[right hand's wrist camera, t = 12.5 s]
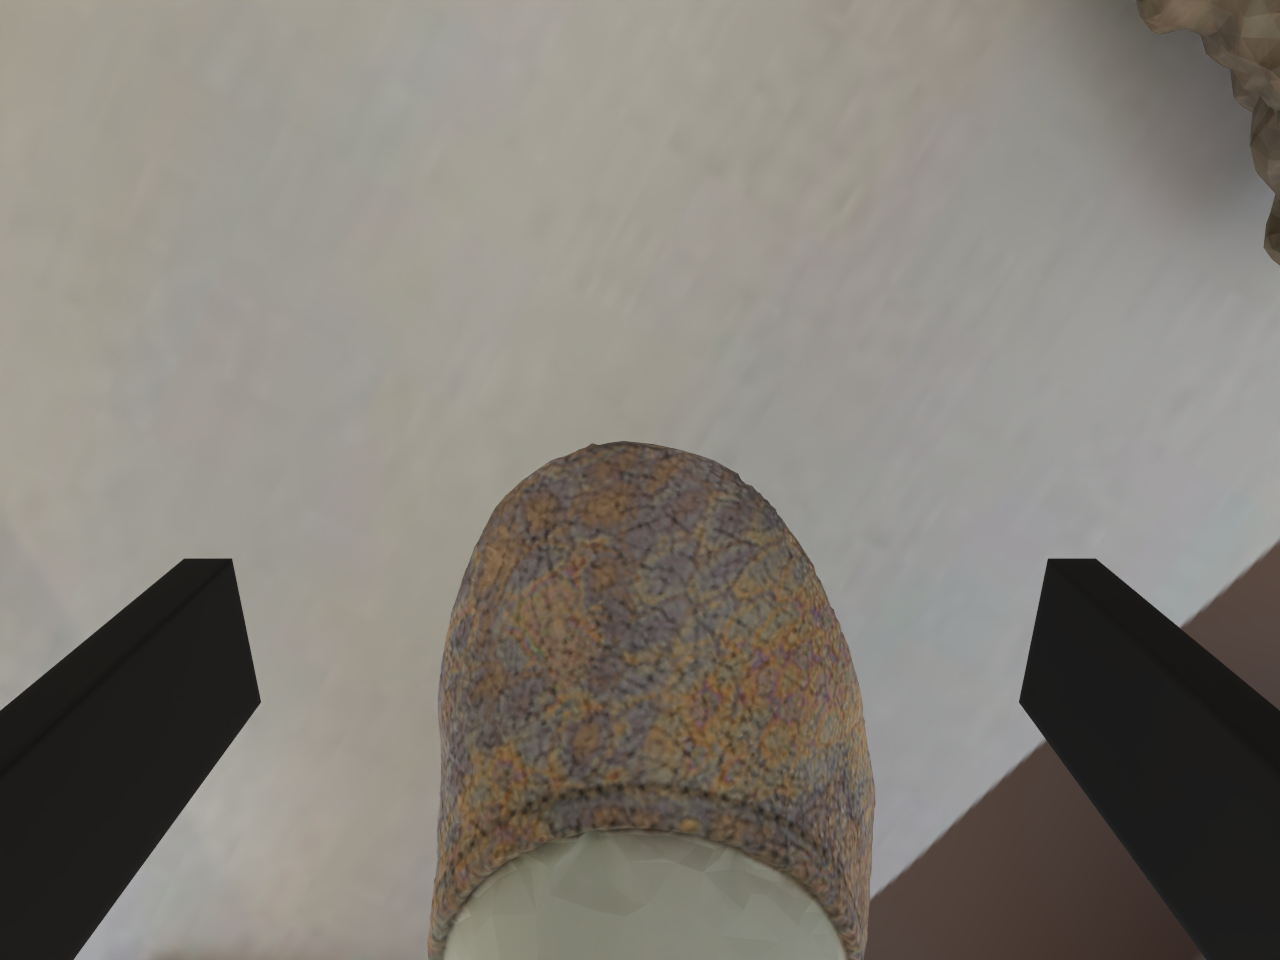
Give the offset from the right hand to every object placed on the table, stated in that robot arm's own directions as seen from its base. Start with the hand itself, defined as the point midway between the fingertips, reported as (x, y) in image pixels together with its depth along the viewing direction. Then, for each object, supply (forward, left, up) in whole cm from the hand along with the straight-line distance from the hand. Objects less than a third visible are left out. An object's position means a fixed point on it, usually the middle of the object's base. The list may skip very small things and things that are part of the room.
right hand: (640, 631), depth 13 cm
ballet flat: (+6, +7, -2) cm, 9 cm away
